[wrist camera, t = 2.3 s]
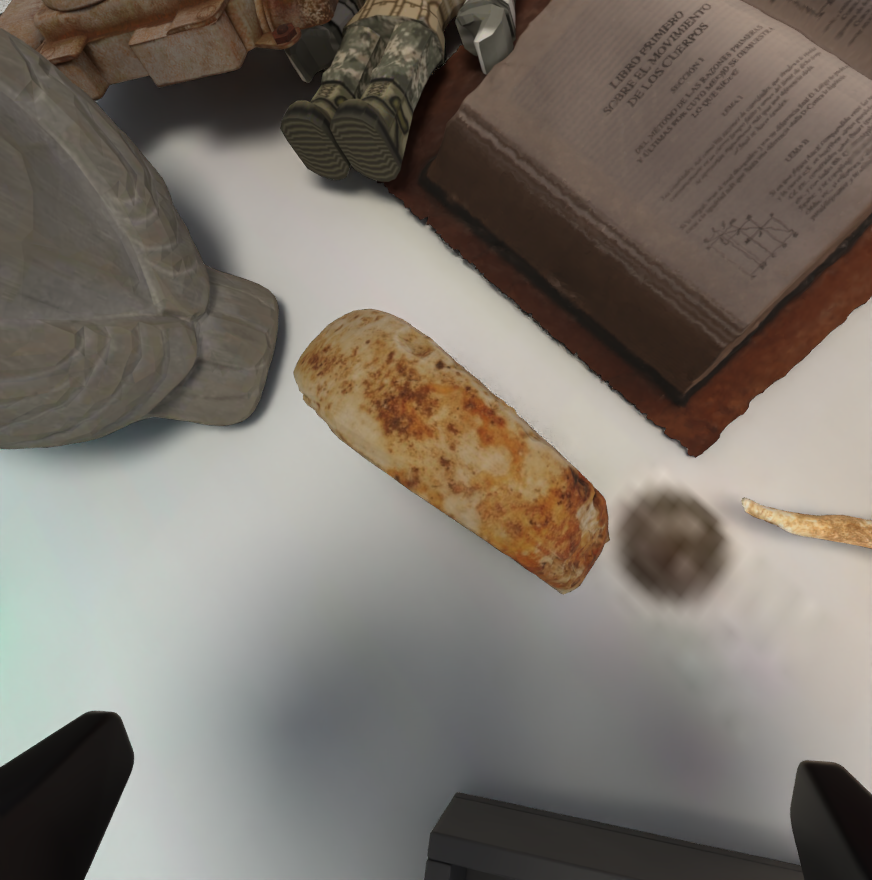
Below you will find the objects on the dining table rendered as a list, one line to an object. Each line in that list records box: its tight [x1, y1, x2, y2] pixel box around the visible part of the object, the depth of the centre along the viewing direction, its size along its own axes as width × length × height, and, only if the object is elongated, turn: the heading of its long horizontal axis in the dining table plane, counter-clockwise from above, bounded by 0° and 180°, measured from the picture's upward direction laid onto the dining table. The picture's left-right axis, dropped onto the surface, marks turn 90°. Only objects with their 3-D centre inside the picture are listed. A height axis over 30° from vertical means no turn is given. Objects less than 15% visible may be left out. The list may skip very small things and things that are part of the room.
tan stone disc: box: [294, 309, 610, 595], centre depth 19 cm, size 10×4×10 cm, turn 50°
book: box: [377, 0, 872, 457], centre depth 24 cm, size 20×28×4 cm
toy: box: [280, 0, 516, 182], centre depth 27 cm, size 10×4×15 cm
